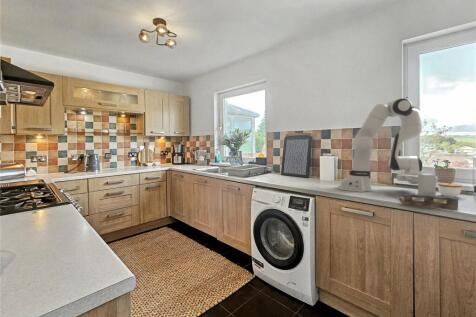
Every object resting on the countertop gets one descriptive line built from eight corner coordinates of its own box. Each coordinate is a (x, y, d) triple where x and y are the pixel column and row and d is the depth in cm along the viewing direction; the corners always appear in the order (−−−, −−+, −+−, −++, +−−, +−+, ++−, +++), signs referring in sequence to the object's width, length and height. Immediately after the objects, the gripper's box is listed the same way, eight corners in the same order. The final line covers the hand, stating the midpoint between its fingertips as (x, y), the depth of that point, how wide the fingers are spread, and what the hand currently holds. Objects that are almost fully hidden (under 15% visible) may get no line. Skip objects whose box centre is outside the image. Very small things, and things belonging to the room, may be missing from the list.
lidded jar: (437, 193, 149) (437, 179, 148) (459, 196, 142) (460, 181, 142) (438, 196, 141) (438, 181, 140) (462, 199, 134) (462, 183, 133)
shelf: (404, 204, 122) (404, 194, 122) (399, 198, 135) (399, 189, 135) (458, 209, 112) (458, 198, 112) (447, 203, 125) (447, 193, 125)
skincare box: (436, 202, 120) (437, 175, 119) (422, 201, 122) (423, 174, 121) (429, 199, 128) (430, 173, 127) (416, 198, 130) (417, 172, 129)
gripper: (395, 171, 153) (398, 173, 140) (433, 173, 143) (441, 176, 131) (394, 180, 153) (398, 183, 141) (433, 183, 144) (440, 186, 131)
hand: (419, 180), depth 136 cm, fingers open, 8 cm apart
